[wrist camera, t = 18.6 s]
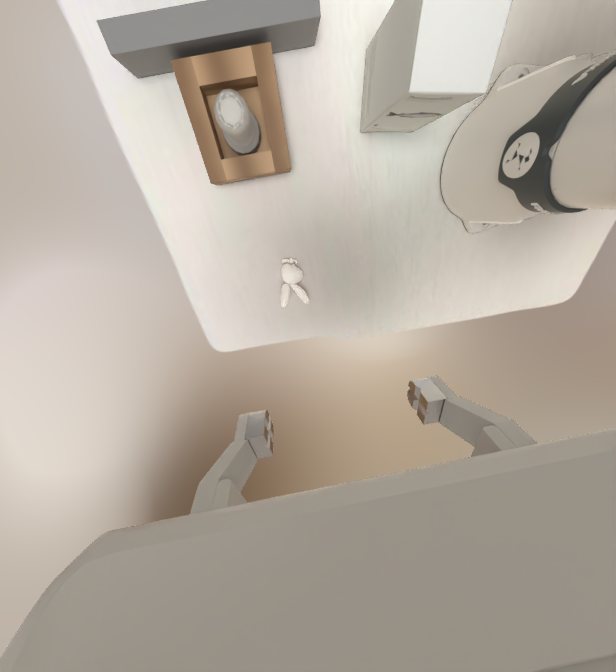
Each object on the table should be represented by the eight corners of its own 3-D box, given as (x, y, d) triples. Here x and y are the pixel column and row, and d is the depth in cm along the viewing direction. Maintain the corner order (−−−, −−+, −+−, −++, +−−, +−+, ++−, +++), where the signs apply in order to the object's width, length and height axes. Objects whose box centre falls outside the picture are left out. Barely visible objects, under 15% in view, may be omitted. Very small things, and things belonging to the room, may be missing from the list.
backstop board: (311, 16, 23) (317, -20, 19) (314, 45, 24) (320, 16, 20) (126, 50, 23) (96, 20, 19) (137, 78, 24) (110, 54, 20)
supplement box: (358, 134, 29) (405, 93, 18) (365, 47, 25) (430, -72, 14) (411, 134, 29) (487, 95, 19) (426, 50, 25) (533, -61, 15)
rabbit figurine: (310, 256, 36) (315, 304, 37) (296, 262, 39) (301, 307, 40) (280, 253, 32) (286, 306, 33) (267, 260, 35) (273, 309, 36)
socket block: (271, 61, 24) (270, 41, 21) (289, 171, 30) (290, 168, 27) (183, 77, 24) (170, 60, 21) (217, 185, 30) (210, 183, 27)
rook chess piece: (216, 116, 25) (193, 85, 19) (251, 101, 25) (241, 63, 18) (235, 163, 28) (220, 150, 21) (267, 149, 27) (263, 132, 21)
